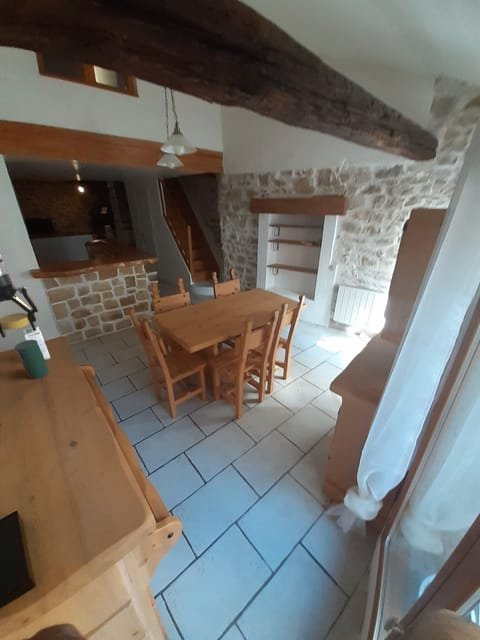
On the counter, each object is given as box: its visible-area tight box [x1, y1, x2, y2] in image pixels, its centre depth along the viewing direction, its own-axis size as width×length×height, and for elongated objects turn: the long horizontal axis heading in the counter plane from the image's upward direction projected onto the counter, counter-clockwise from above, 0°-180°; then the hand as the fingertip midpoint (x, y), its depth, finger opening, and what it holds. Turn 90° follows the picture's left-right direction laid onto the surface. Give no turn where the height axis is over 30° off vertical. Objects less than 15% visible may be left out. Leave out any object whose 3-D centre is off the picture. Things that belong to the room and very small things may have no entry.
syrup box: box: [22, 326, 51, 361], centre depth 111 cm, size 6×6×14 cm
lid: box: [0, 312, 30, 331], centre depth 94 cm, size 9×8×3 cm
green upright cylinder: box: [14, 340, 50, 380], centre depth 102 cm, size 7×7×14 cm
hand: (19, 332), depth 96 cm, fingers closed on lid, 8 cm apart
